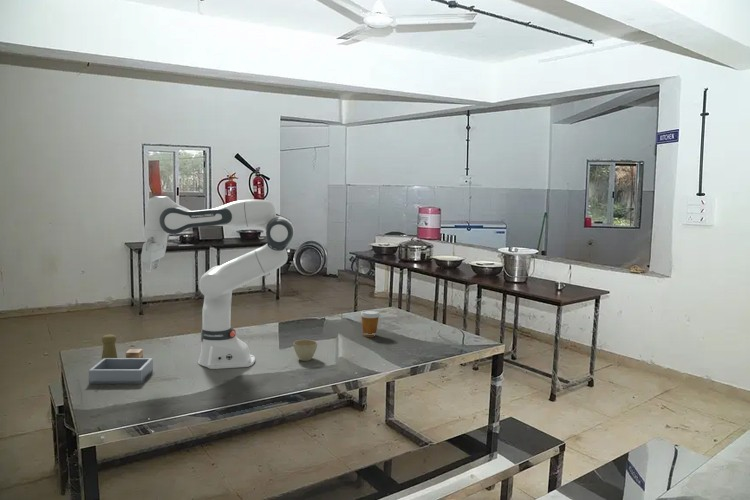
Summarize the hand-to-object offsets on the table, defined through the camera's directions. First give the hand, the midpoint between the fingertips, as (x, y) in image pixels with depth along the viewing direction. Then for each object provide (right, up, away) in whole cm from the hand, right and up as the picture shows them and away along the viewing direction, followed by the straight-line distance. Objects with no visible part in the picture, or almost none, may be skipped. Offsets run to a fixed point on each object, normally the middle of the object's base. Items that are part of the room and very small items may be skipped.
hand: (151, 270), depth 219 cm
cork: (-18, -37, +3) cm, 41 cm away
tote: (-5, -39, -14) cm, 42 cm away
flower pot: (+59, -38, +15) cm, 72 cm away
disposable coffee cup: (+86, -35, +55) cm, 108 cm away
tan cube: (-8, -37, +3) cm, 38 cm away
